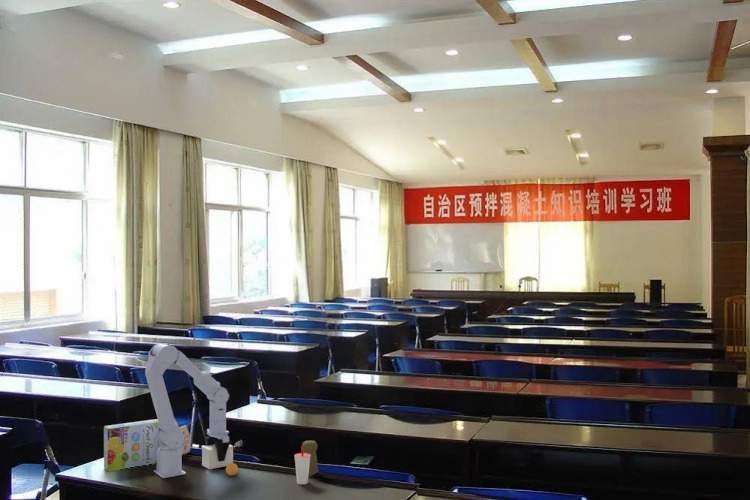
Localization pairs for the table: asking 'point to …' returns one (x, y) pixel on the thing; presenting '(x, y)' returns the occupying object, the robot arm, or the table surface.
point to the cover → (215, 457)
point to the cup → (302, 466)
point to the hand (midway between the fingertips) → (217, 458)
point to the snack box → (130, 445)
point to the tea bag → (185, 440)
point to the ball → (231, 469)
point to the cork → (311, 449)
